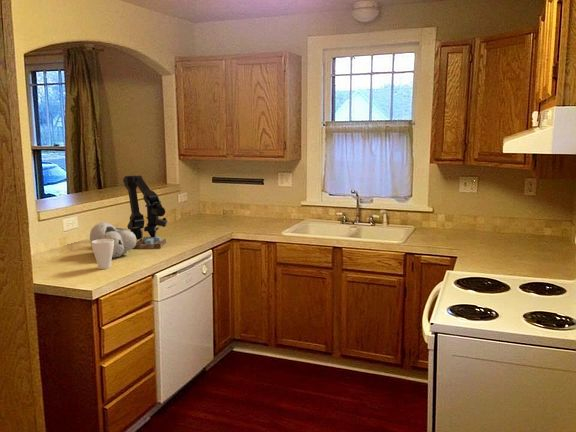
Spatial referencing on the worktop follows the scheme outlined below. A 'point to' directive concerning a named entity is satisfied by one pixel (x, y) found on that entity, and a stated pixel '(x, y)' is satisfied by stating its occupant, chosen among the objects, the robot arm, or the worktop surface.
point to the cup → (103, 252)
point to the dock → (149, 245)
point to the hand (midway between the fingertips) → (153, 240)
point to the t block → (151, 240)
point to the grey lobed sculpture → (114, 238)
